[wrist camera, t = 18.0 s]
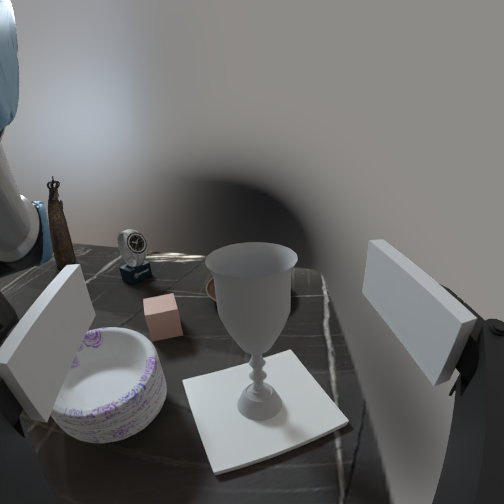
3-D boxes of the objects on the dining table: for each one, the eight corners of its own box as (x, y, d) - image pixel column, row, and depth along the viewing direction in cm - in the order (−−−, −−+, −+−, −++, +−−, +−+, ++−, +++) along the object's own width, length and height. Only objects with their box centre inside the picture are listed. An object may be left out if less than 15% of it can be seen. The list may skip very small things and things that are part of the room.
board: (214, 475, 22) (213, 472, 22) (183, 384, 35) (182, 380, 34) (347, 424, 27) (348, 420, 27) (290, 353, 39) (290, 349, 39)
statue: (83, 259, 75) (61, 173, 64) (62, 271, 69) (37, 182, 59) (71, 254, 79) (51, 175, 69) (51, 265, 73) (29, 183, 63)
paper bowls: (108, 357, 39) (91, 314, 36) (194, 388, 34) (182, 340, 31) (43, 421, 26) (13, 378, 23) (130, 481, 21) (97, 442, 18)
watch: (138, 287, 59) (127, 237, 55) (118, 278, 64) (108, 232, 59) (157, 276, 63) (148, 229, 59) (137, 268, 68) (128, 224, 64)
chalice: (294, 385, 33) (300, 243, 26) (288, 430, 27) (294, 280, 20) (235, 379, 34) (219, 241, 27) (220, 421, 28) (191, 275, 21)
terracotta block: (152, 342, 43) (144, 315, 41) (149, 324, 47) (143, 299, 45) (183, 335, 44) (177, 309, 42) (178, 318, 49) (173, 293, 47)
